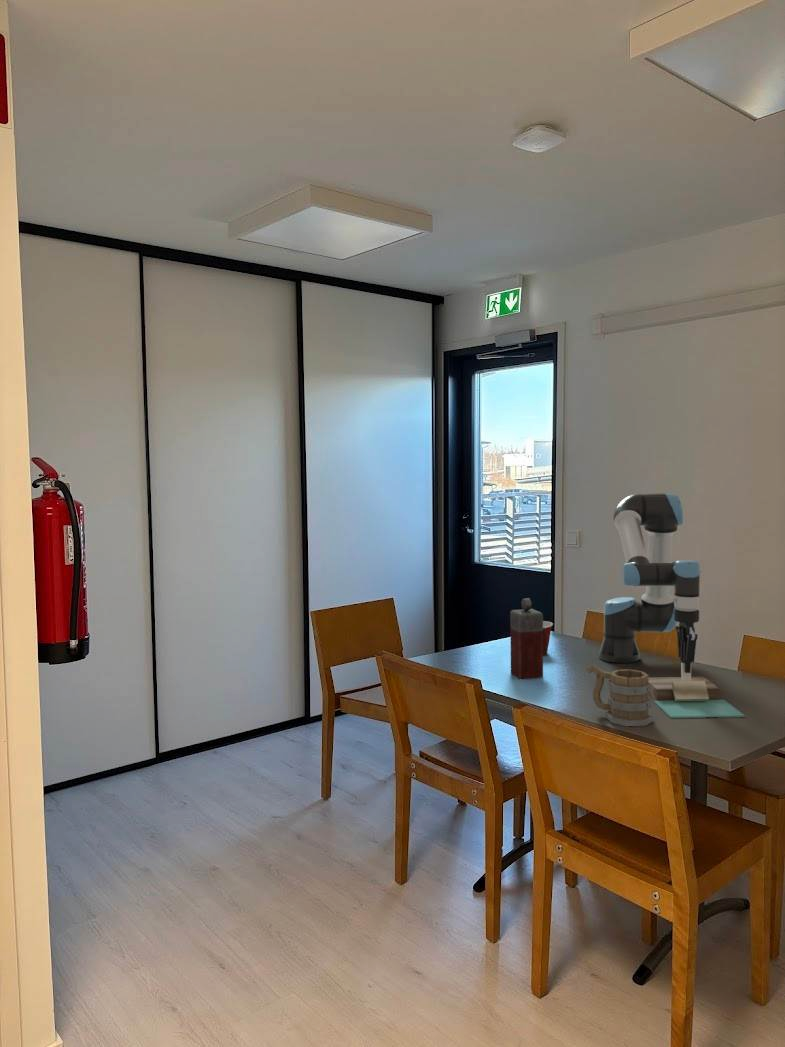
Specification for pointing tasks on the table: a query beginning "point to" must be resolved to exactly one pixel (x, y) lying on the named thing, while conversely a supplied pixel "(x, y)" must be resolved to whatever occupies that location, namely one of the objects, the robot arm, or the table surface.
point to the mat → (698, 709)
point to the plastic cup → (547, 630)
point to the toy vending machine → (527, 642)
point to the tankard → (624, 696)
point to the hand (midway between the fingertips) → (686, 681)
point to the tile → (690, 691)
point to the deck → (664, 690)
